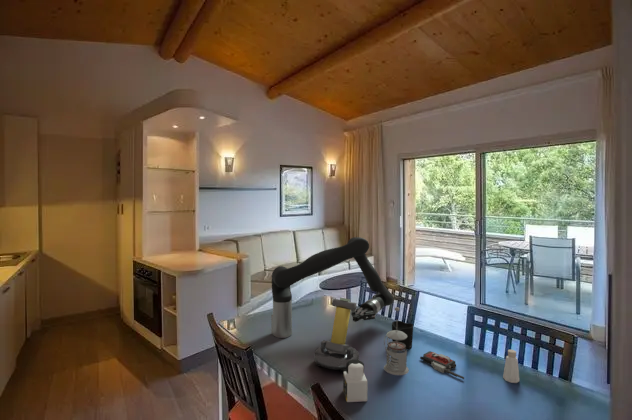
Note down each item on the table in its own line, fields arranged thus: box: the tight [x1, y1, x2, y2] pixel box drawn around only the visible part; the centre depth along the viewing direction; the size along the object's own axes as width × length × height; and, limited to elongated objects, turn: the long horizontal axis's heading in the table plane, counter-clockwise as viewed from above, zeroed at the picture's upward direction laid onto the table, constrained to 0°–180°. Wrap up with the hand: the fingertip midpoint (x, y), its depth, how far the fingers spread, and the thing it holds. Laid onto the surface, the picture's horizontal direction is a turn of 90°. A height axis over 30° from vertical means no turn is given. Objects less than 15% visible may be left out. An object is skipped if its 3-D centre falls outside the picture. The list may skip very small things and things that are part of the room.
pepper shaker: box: [502, 349, 520, 384], centre depth 133 cm, size 5×5×11 cm
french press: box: [383, 306, 410, 376], centre depth 141 cm, size 10×12×25 cm
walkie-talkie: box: [419, 351, 465, 380], centre depth 142 cm, size 9×4×20 cm
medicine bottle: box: [342, 359, 368, 403], centre depth 122 cm, size 7×7×12 cm
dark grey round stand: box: [314, 339, 360, 375], centre depth 144 cm, size 18×18×8 cm
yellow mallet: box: [325, 297, 357, 355], centre depth 146 cm, size 10×6×22 cm, turn 58°
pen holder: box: [391, 320, 414, 351], centre depth 161 cm, size 9×9×10 cm
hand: (354, 319), depth 157 cm, fingers closed
